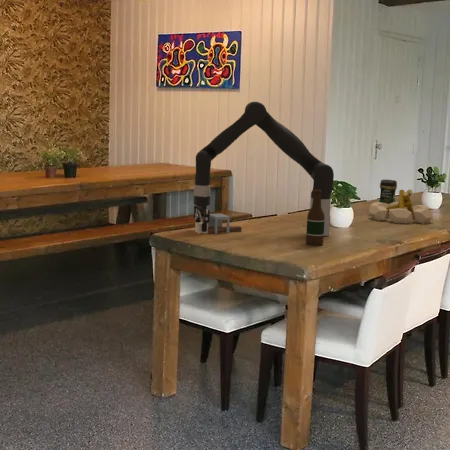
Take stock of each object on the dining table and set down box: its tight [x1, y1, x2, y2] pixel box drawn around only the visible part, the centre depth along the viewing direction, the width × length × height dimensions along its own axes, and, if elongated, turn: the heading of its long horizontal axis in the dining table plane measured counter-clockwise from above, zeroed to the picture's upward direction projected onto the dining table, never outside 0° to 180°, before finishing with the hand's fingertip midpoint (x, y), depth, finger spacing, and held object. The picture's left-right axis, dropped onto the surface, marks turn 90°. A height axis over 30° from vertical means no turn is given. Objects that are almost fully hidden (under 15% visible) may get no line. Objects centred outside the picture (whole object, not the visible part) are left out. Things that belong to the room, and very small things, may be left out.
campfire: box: [368, 189, 434, 224], centre depth 373 cm, size 35×34×17 cm
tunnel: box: [207, 212, 231, 234], centre depth 317 cm, size 10×7×8 cm
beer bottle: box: [305, 189, 325, 247], centre depth 294 cm, size 8×8×24 cm
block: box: [194, 221, 209, 235], centre depth 313 cm, size 4×4×4 cm
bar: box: [207, 225, 242, 234], centre depth 317 cm, size 3×17×3 cm, turn 111°
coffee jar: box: [378, 179, 398, 204], centre depth 402 cm, size 10×8×19 cm
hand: (201, 229), depth 314 cm, fingers open, 7 cm apart
